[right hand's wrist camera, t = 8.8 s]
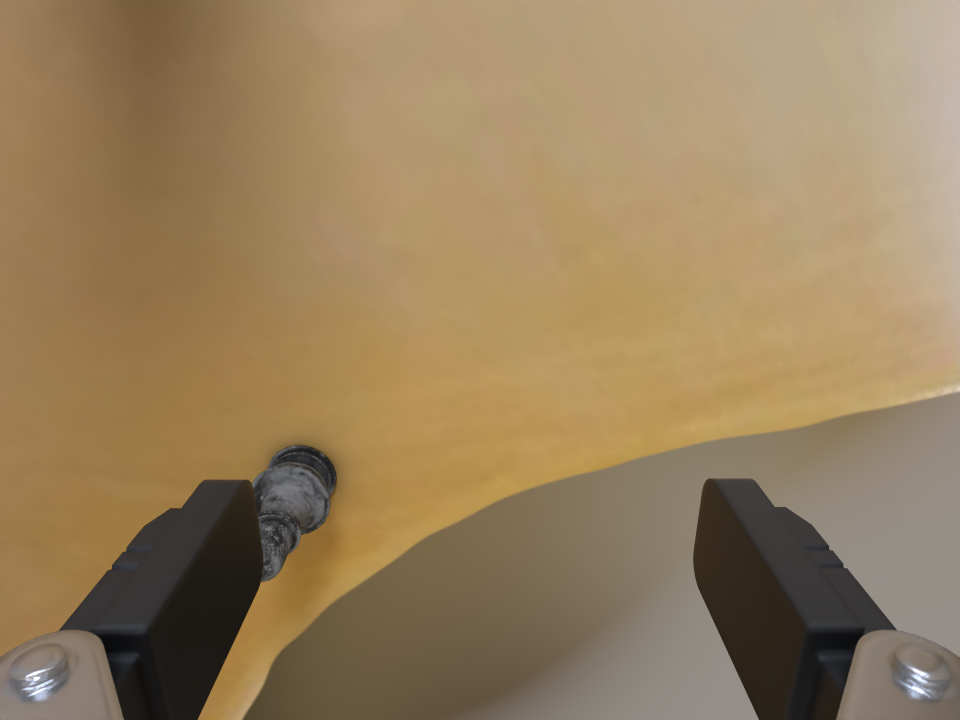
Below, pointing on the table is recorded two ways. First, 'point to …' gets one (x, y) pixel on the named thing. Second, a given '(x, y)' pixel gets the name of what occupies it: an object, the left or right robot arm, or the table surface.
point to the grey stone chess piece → (291, 502)
